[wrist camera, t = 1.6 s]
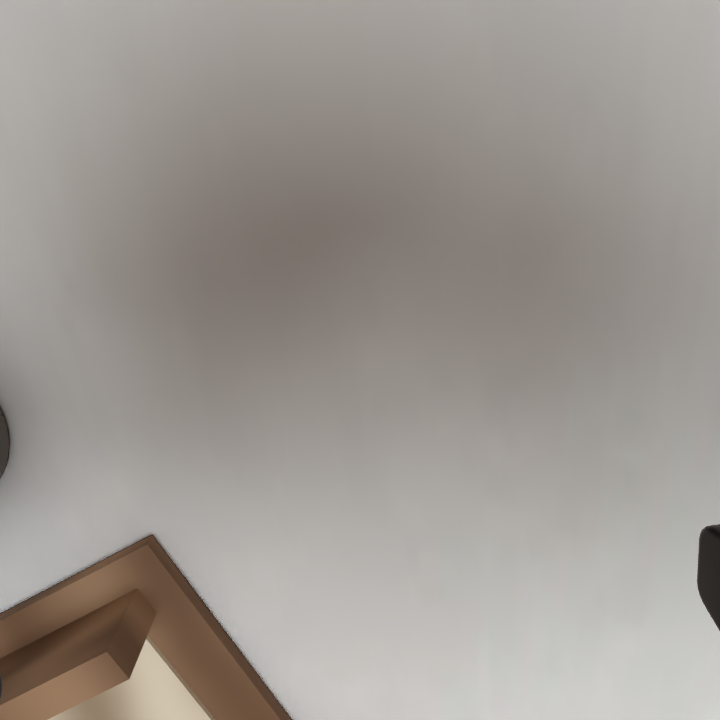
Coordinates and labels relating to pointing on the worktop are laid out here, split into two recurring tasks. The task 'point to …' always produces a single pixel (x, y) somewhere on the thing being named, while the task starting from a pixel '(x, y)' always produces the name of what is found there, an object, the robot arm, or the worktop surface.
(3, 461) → the bottle
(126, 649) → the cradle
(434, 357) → the worktop surface
